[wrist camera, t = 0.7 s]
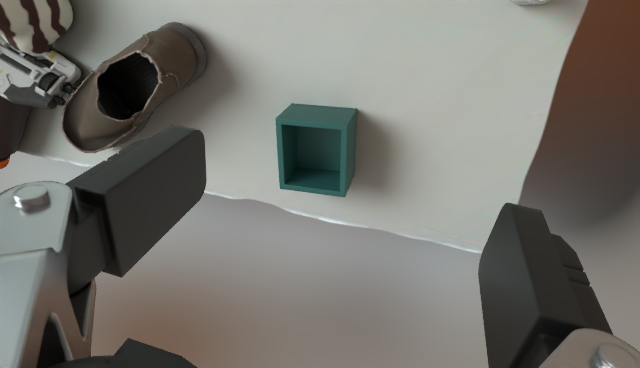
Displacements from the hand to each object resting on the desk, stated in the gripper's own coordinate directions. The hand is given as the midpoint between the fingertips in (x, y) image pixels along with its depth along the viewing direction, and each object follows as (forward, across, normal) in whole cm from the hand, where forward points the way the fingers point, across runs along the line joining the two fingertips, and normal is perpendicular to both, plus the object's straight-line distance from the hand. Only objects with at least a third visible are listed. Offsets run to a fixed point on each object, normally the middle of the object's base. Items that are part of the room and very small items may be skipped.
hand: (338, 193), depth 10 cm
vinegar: (+40, +62, +19) cm, 76 cm away
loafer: (+44, +40, +17) cm, 62 cm away
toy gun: (+32, +63, +22) cm, 74 cm away
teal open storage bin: (+43, +9, +19) cm, 48 cm away
